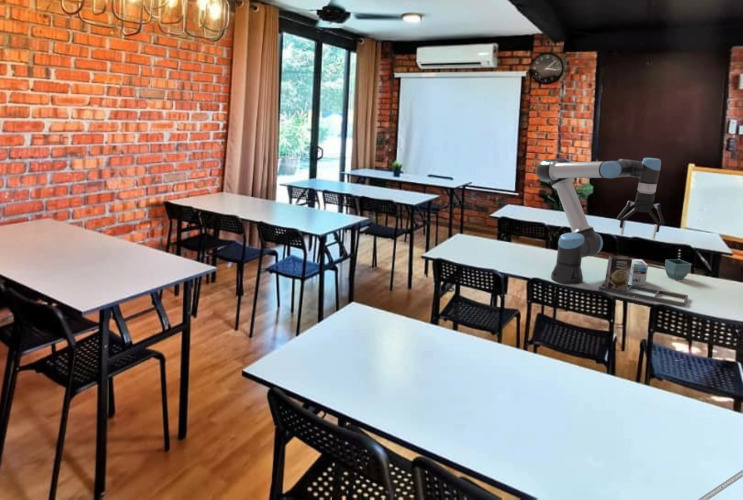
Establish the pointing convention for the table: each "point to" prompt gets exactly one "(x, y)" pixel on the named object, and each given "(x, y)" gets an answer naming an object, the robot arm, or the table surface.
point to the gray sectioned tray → (647, 295)
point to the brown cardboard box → (618, 272)
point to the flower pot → (677, 268)
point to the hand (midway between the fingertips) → (637, 236)
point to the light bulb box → (638, 272)
